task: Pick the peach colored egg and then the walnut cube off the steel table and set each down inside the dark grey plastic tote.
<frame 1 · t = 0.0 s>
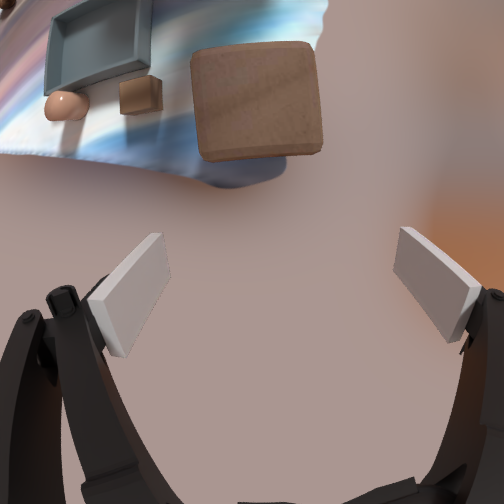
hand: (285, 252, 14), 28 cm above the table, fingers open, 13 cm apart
tote: (102, 39, 30), on the table
peach colored egg: (78, 106, 35), on the table
walnut cube: (147, 97, 35), on the table
wooden block: (258, 115, 36), on the table
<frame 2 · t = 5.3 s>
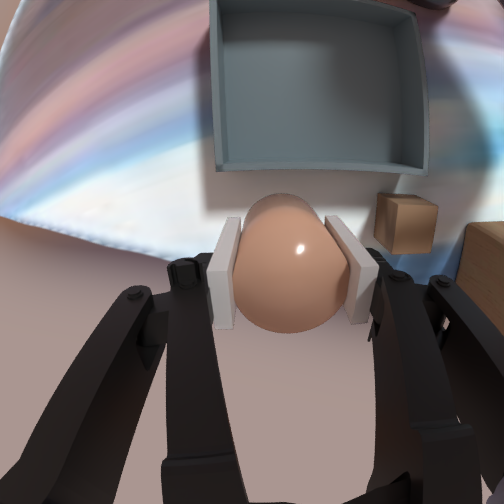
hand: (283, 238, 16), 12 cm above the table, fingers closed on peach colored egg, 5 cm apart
tote: (318, 81, 22), on the table
peach colored egg: (281, 231, 18), point 10 cm above the table, touching gripper
walnut cube: (394, 215, 27), on the table
wooden block: (479, 251, 29), on the table
when the fingers open (1 cm above the table, at t = 8.3 s): peach colored egg stays where it is, resting on tote.
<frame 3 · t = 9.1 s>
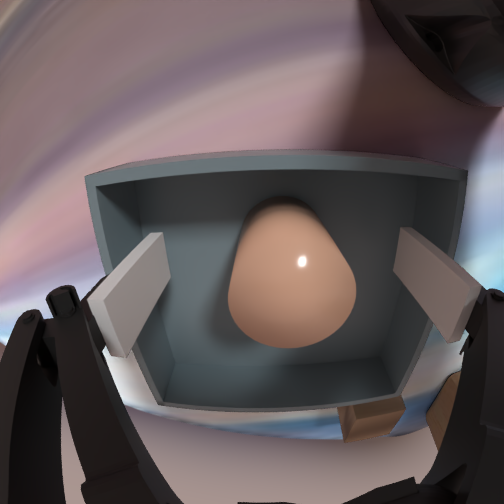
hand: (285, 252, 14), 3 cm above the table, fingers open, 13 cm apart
tote: (281, 279, 19), on the table
peach colored egg: (281, 236, 17), point 1 cm above the table, touching tote
walnut cube: (363, 389, 24), on the table
wooden block: (460, 385, 25), on the table
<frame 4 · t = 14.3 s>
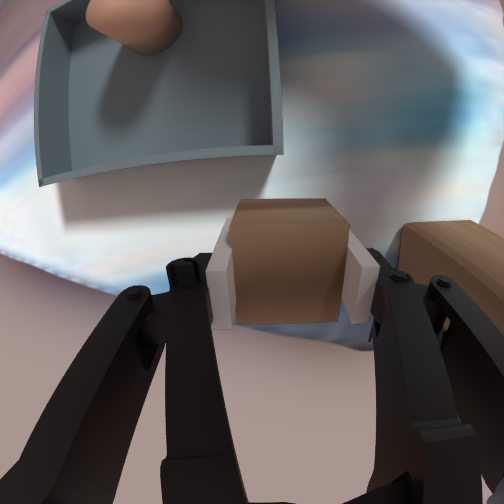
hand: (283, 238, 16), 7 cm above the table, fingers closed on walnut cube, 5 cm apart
tote: (155, 65, 17), on the table
peach colored egg: (154, 30, 16), point 1 cm above the table, touching tote
walnut cube: (283, 238, 17), point 6 cm above the table, touching gripper
wooden block: (431, 263, 24), on the table
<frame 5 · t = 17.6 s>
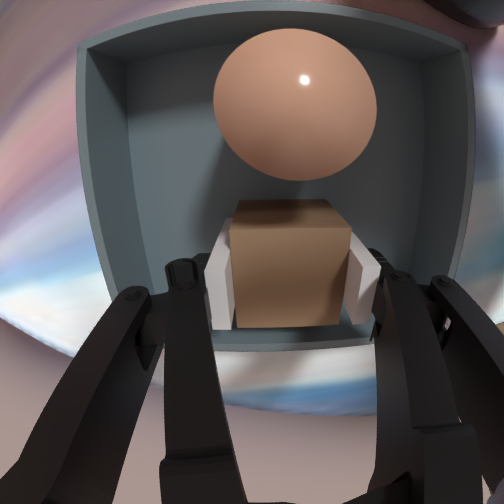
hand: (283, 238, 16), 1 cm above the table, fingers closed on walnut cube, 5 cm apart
tote: (283, 174, 15), on the table
peach colored egg: (281, 116, 13), point 1 cm above the table, touching tote
walnut cube: (283, 240, 16), point 1 cm above the table, touching gripper, tote
when the fingers open (1 cm above the table, at t = 17.6 s): walnut cube stays where it is, resting on tote.
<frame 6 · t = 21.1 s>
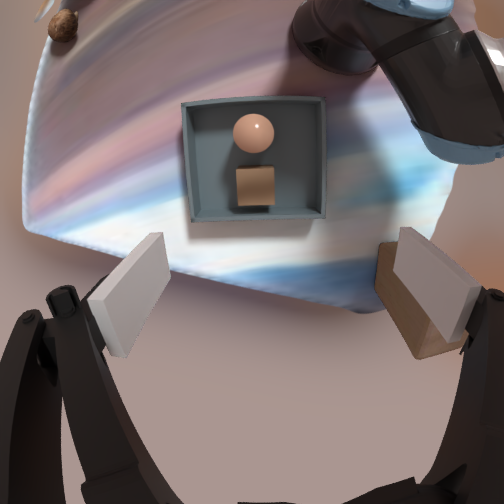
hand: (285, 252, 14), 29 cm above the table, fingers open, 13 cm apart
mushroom: (71, 29, 28), on the table
tote: (256, 155, 39), on the table
peach colored egg: (254, 134, 37), point 1 cm above the table, touching tote
walnut cube: (256, 181, 40), point 1 cm above the table, touching tote
wooden block: (397, 263, 46), on the table
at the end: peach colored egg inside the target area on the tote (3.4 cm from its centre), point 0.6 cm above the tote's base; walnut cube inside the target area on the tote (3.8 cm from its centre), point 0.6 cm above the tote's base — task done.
